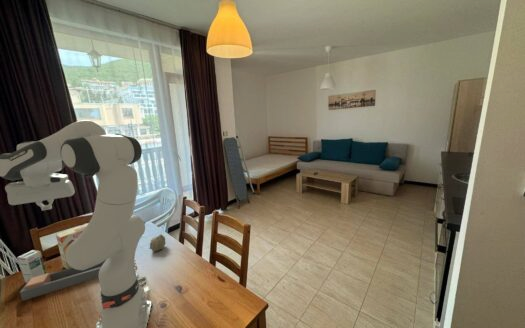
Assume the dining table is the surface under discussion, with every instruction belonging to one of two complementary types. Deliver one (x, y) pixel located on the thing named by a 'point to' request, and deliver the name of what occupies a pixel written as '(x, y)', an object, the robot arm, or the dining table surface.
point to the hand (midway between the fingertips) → (47, 209)
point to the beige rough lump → (157, 243)
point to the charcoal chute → (61, 281)
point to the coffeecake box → (68, 241)
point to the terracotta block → (38, 280)
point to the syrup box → (32, 264)
